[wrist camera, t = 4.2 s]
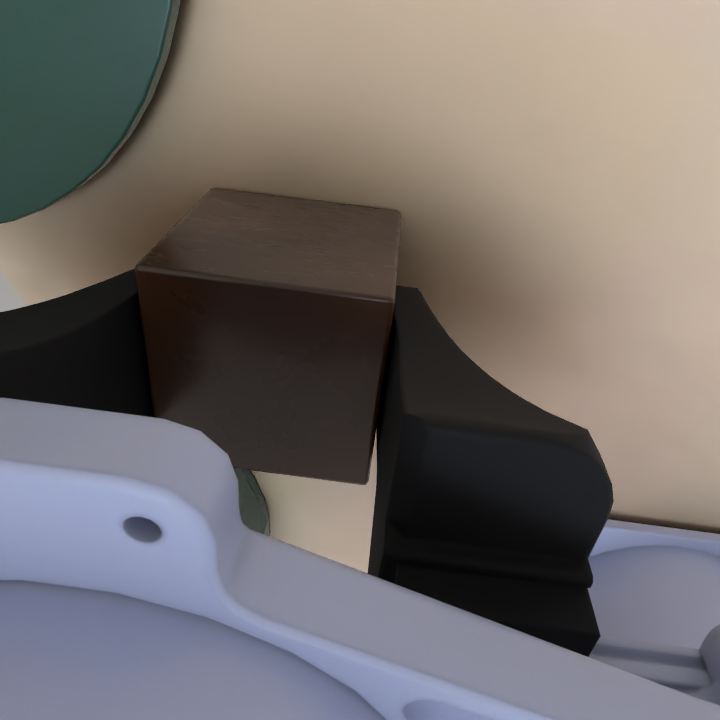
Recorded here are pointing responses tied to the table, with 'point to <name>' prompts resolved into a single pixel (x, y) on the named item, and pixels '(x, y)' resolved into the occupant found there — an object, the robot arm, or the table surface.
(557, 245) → the table surface
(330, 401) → the block
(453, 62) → the table surface
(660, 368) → the table surface
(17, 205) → the lid
